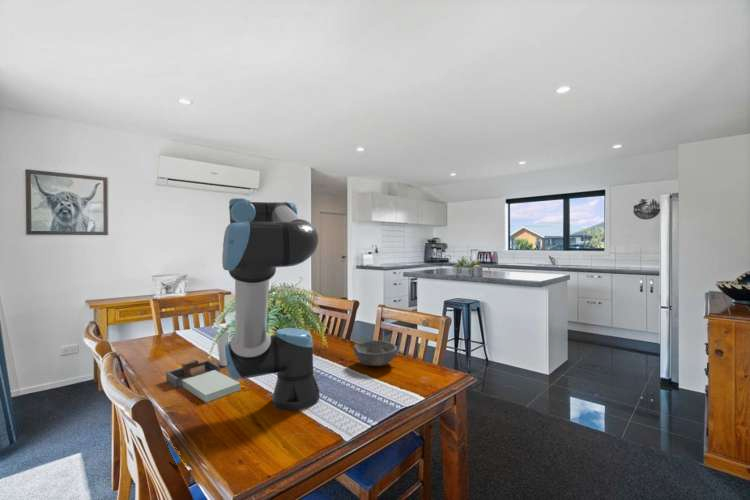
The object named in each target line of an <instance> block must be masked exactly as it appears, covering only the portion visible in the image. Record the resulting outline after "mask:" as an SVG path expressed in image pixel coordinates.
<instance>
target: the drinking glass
mask: <svg viewBox="0 0 750 500" xmlns="http://www.w3.org/2000/svg"><path fill="white" fill-rule="evenodd" d="M221 329H222V328H219V329H217V330H216V336H217V335H218V333H219V332H220V331H221ZM228 335H229V333H228V331H227V332H225V334H224V335H222V336H221V337H220V338H219V339H218V340H217V339H216V347H217V352H218V359H219V366H220V367H227V361H226V353H225V344H226V343H227V342H228Z"/></svg>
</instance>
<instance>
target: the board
mask: <svg viewBox="0 0 750 500" xmlns="http://www.w3.org/2000/svg"><path fill="white" fill-rule="evenodd" d="M181 388H184V389H185V390H187V391H188V392H190V393H191V394H193V395H194V396H196V397H197V398H199V399H200V400H201V401H202V402H204V403H209V402H212V401H214V400H217V399H220V398H222V397H226V396H229V395H230V394H233V393H236V392H238V391H241V382H239V381H237V380H233V379H231V378H230V376H228V375H226V374H223V373H221V371H220V372H218V371H216V370H213V371H209V372H206V373H203V374H200V375H196V376H193V377H190V378H187V379H183V380H182V387H181Z"/></svg>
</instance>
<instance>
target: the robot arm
mask: <svg viewBox="0 0 750 500" xmlns="http://www.w3.org/2000/svg"><path fill="white" fill-rule="evenodd" d="M228 210H229V211H228V212H229V224H228V225H227V226H226V228H225V230H224V234H223V235H224V236H223V242H222V243H223V244H222V255H221V256H222V259H221V260H222V261H221V262H222V268H223V270H224V271H228V273H229V275H230V277H231V278H232V279H233V280H234V292H235V295H234V300H235V306H234V307H235V312H234V313H235V333H234V335H233V336H232V338H231V341H229V342H227V343H226V344H225V353H226V361H227V366H226V367H227V372H228V375H229V376H228V377H229V378H231V379H233V380H235V381H237V380H246V379H250V378H257V377H261V376H266V375H272V374H276V375H277V377H276V383H275V386H274V389H273V394H272V405H273V407H274V408H276V409H279V410H281V411H299V410H304V409H307V408H311V406H314V405H315V404H316V403H318V402H319V400H320V389H319V387H318V383H317V381H316V378H315V376H314V354H313V353H314V352H313V351H314V350H313V347H314V344H313V337H312V334H311V332H309V331H307V330H306V329H302V328H293V327H285V328H284V327H283V328H280V329H277V330H276V331H275V333H274V335H270V333H269V332H268V331H267V327H268V326H267V323H268V322H267V321H268V307H269V306H268V305H269V290H270V289H269V288H270V280H271V279H273V277H275V274H276V273H277V272H276V271H277V268H286V267H287V268H288V267H294V266H297V265H300V264H302V263H304V262H306V261H307V260H308V259H309V258H311V257H312V256H313V255H314V253H315V252H316V250H317V247H318V245H319V233H318V232H317V229H316V227H315V226H314V224H312V223H310V222H309V221H307V220H306V219H302V218H301V217H300V216H299V215H298V208H297V205H296V203H294V202H287V201H284V202H277V201H276V202H275V201H274V202H272V201H271V202H270V201H269V202H266V201H265V202H263V201H262V202H261V201H260V202H259V201H251V200H250V199H248V198H238V197H236V198H230V200H229V203H228Z"/></svg>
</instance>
